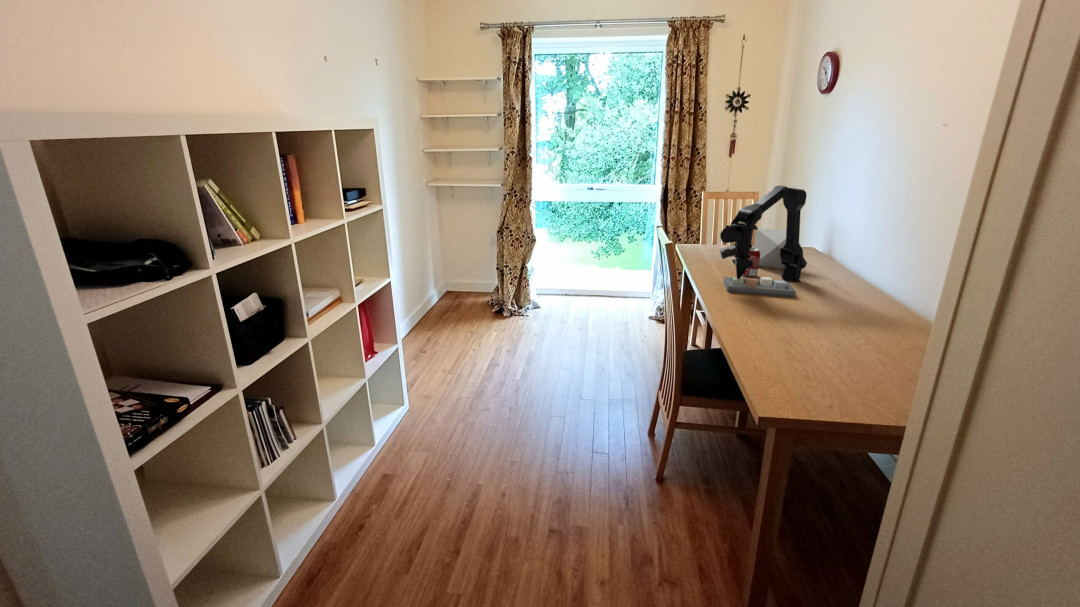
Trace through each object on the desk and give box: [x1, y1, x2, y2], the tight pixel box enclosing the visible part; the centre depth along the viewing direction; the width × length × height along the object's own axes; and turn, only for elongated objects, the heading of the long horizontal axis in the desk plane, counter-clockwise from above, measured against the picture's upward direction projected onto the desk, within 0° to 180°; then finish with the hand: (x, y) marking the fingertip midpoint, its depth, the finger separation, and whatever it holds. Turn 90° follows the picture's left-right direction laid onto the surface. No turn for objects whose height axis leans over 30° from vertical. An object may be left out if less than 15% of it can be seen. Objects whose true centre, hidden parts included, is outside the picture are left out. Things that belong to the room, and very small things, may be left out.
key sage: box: [731, 276, 744, 286], centre depth 208 cm, size 4×4×3 cm
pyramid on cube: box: [753, 227, 786, 270], centre depth 239 cm, size 17×24×18 cm
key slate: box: [773, 279, 787, 289], centre depth 205 cm, size 4×4×3 cm
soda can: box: [742, 247, 760, 278], centre depth 225 cm, size 7×7×12 cm
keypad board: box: [722, 276, 797, 298], centre depth 207 cm, size 25×14×2 cm, turn 78°
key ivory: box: [759, 276, 774, 286], centre depth 206 cm, size 4×4×3 cm
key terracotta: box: [745, 277, 758, 287], centre depth 207 cm, size 4×4×3 cm
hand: (738, 278), depth 208 cm, fingers closed, pressing on key sage
